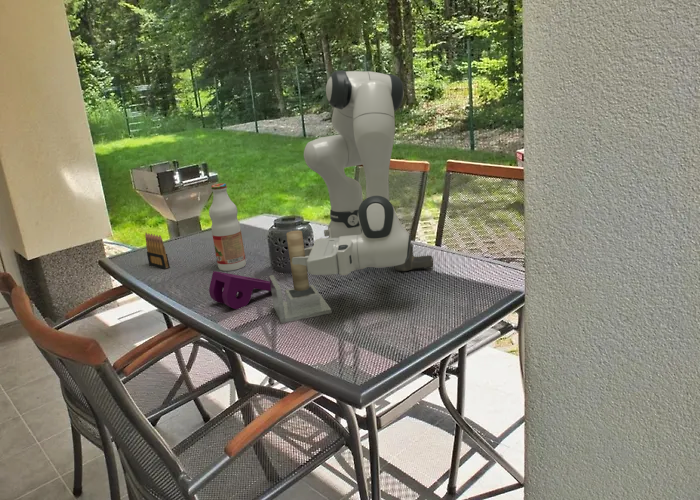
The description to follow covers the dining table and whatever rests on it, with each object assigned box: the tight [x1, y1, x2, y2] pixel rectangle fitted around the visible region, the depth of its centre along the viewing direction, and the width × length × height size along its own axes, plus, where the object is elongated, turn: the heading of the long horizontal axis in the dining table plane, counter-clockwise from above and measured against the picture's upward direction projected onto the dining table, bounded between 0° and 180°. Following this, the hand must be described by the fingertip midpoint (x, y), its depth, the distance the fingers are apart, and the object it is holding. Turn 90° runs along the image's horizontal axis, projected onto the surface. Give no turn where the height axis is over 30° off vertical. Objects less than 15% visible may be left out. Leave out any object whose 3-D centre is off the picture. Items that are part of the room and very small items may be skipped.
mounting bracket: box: [208, 270, 271, 310], centre depth 170 cm, size 10×8×18 cm
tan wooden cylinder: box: [286, 230, 310, 291], centre depth 154 cm, size 4×4×15 cm
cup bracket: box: [268, 274, 333, 324], centre depth 157 cm, size 12×13×9 cm
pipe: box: [394, 243, 434, 272], centre depth 179 cm, size 6×13×8 cm, turn 78°
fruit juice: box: [208, 182, 247, 272], centre depth 197 cm, size 9×9×28 cm
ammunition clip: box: [144, 232, 171, 270], centre depth 208 cm, size 11×2×12 cm, turn 49°
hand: (294, 257), depth 154 cm, fingers closed on tan wooden cylinder, 4 cm apart
